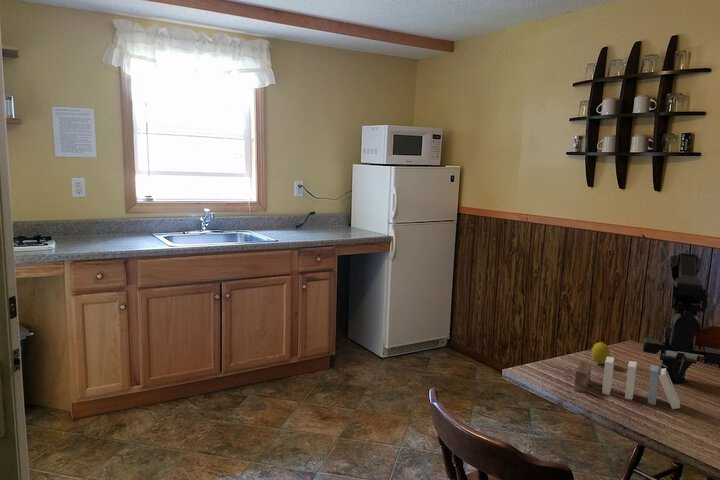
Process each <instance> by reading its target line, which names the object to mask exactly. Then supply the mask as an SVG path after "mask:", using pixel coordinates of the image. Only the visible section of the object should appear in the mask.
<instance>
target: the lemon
mask: <svg viewBox="0 0 720 480" xmlns="http://www.w3.org/2000/svg"><path fill="white" fill-rule="evenodd" d="M610 355H611V353H610V348H609V347H608V345H607V344H606V343H604V342H603V341H600V342H596V343H595V344H594V345H593V346H592V349H591V356H592V359H593V361H595V362H596V363H597V364H598V365H602V364H605V360H606V358H607V356H608V357H610Z"/></svg>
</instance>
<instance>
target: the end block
mask: <svg viewBox="0 0 720 480" xmlns="http://www.w3.org/2000/svg"><path fill="white" fill-rule="evenodd" d="M591 372H592V362H588V361H584V360H581V361H580V362H579V364H578V366H577V369H576V370H575V377H574V388H573V391H577V392H581V393H586V391H587V388H588V387H589V384H590V382H591V374H592V373H591Z"/></svg>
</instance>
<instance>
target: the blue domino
mask: <svg viewBox="0 0 720 480" xmlns="http://www.w3.org/2000/svg"><path fill="white" fill-rule="evenodd" d="M659 367H660V365H655V364H650V368H649V381H648V383H649V384H648V395H647V397H648V398H647V404H648V403H649V404H648V405H654V406H656V405H657V395H658V394H657V392H658V379H659V377H658V369H659Z"/></svg>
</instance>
